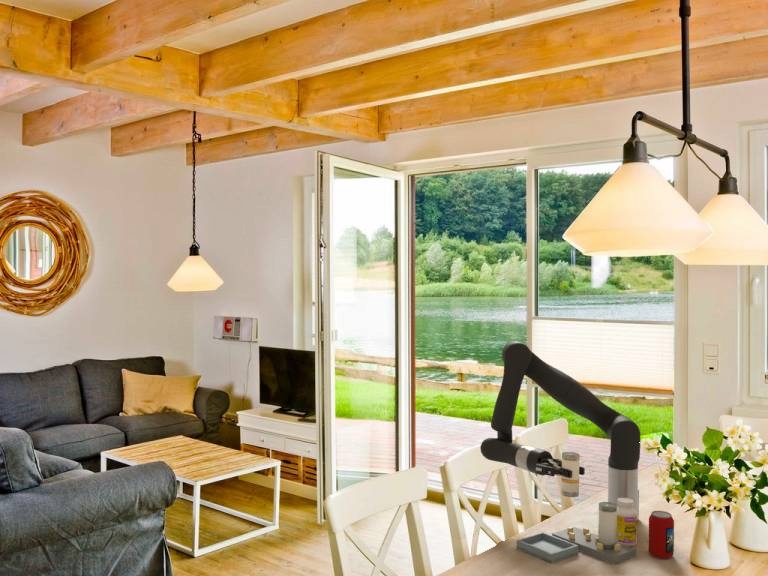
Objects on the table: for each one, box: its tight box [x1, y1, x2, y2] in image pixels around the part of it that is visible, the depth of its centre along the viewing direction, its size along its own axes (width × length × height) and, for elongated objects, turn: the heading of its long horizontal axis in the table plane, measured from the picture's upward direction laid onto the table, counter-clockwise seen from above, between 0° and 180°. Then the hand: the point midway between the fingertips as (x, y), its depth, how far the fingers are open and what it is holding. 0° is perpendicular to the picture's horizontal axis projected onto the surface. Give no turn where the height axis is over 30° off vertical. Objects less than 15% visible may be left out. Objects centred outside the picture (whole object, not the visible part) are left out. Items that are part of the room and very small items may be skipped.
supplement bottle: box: [617, 498, 638, 547], centre depth 217 cm, size 7×7×13 cm
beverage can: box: [647, 510, 675, 560], centre depth 207 cm, size 7×7×12 cm
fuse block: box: [551, 526, 637, 565], centre depth 213 cm, size 10×22×4 cm, turn 36°
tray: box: [515, 531, 579, 564], centre depth 210 cm, size 11×13×2 cm
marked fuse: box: [560, 451, 581, 498], centre depth 215 cm, size 5×5×12 cm
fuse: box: [597, 501, 617, 550], centre depth 209 cm, size 5×5×12 cm
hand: (577, 472), depth 213 cm, fingers closed on marked fuse, 5 cm apart
